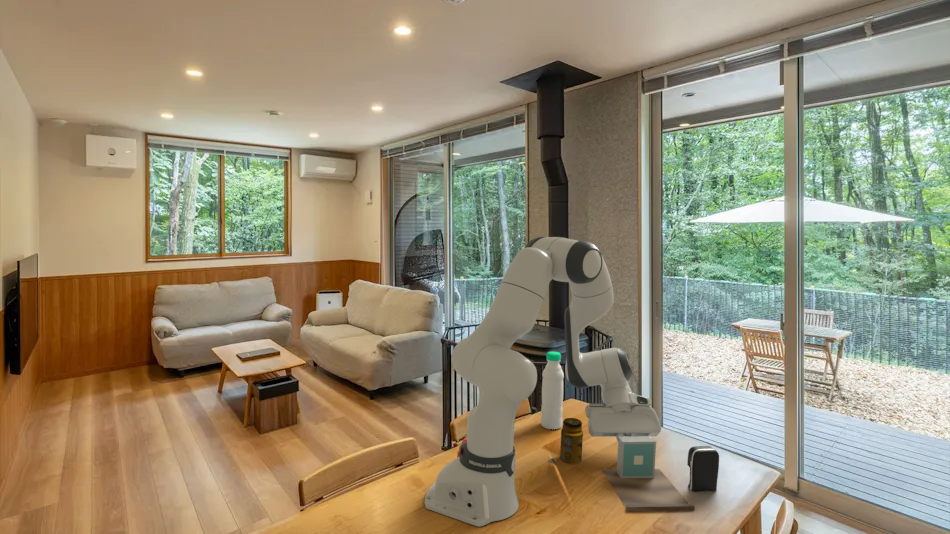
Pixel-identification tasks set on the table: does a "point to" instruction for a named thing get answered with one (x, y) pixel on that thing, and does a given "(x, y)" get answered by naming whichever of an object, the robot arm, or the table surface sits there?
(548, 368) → the water bottle
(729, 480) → the table surface
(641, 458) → the grey rectangular block
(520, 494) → the table surface
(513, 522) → the table surface
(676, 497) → the board
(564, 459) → the condiment
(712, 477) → the battery charger
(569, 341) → the robot arm
